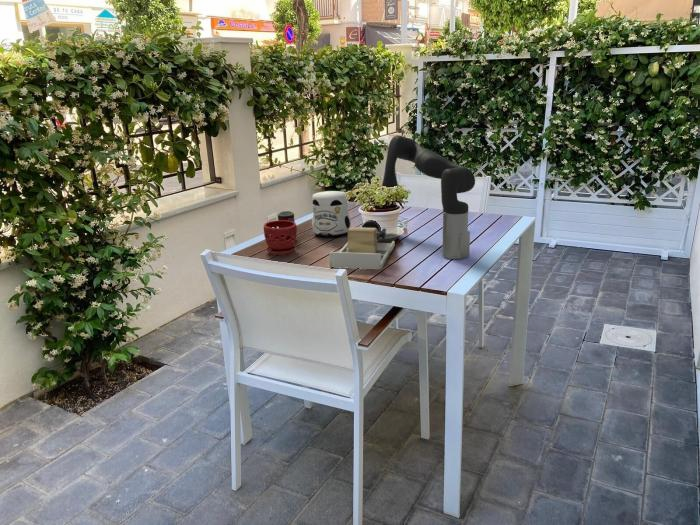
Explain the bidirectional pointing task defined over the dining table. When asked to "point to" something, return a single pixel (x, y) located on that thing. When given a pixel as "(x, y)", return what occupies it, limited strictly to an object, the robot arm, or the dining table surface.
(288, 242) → the plant pot
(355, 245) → the oak block
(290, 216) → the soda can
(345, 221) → the milk container
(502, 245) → the dining table surface
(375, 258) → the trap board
